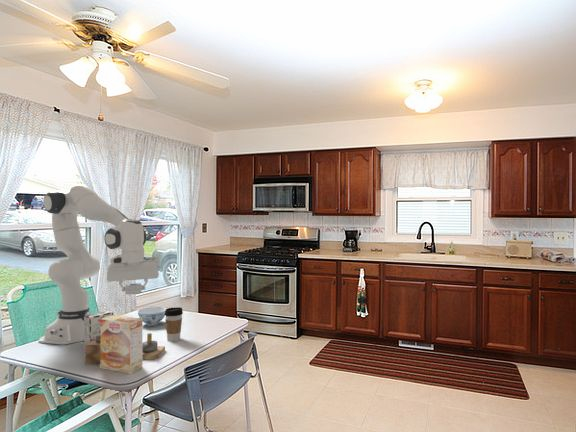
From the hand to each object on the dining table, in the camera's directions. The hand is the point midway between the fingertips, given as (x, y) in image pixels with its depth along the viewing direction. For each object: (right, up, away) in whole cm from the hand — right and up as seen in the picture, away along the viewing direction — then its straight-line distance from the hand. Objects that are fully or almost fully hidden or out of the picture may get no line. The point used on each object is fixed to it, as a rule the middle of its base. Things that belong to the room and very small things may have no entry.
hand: (133, 290), depth 161 cm
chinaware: (-9, -28, +48) cm, 56 cm away
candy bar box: (-18, -28, +7) cm, 34 cm away
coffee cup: (+10, -28, +23) cm, 38 cm away
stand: (-13, -28, -5) cm, 31 cm away
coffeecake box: (0, -28, -11) cm, 31 cm away
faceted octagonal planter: (0, -1, 0) cm, 1 cm away
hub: (+6, -28, +3) cm, 29 cm away
